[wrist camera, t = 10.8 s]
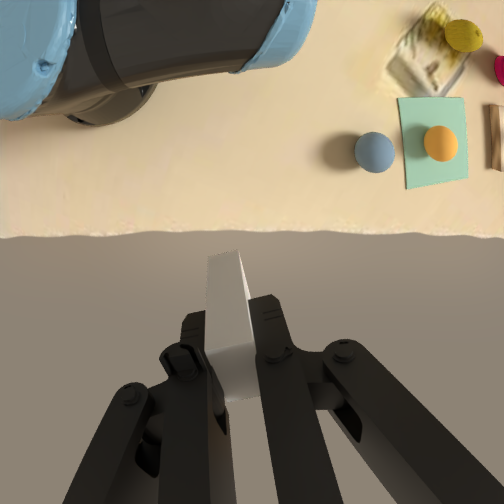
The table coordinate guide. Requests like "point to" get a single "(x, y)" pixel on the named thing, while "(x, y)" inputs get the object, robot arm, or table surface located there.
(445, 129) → the orange ball
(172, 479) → the robot arm
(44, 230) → the table surface
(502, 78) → the pepper mill
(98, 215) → the table surface
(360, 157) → the blue ball
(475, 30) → the lemon
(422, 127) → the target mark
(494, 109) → the bar
